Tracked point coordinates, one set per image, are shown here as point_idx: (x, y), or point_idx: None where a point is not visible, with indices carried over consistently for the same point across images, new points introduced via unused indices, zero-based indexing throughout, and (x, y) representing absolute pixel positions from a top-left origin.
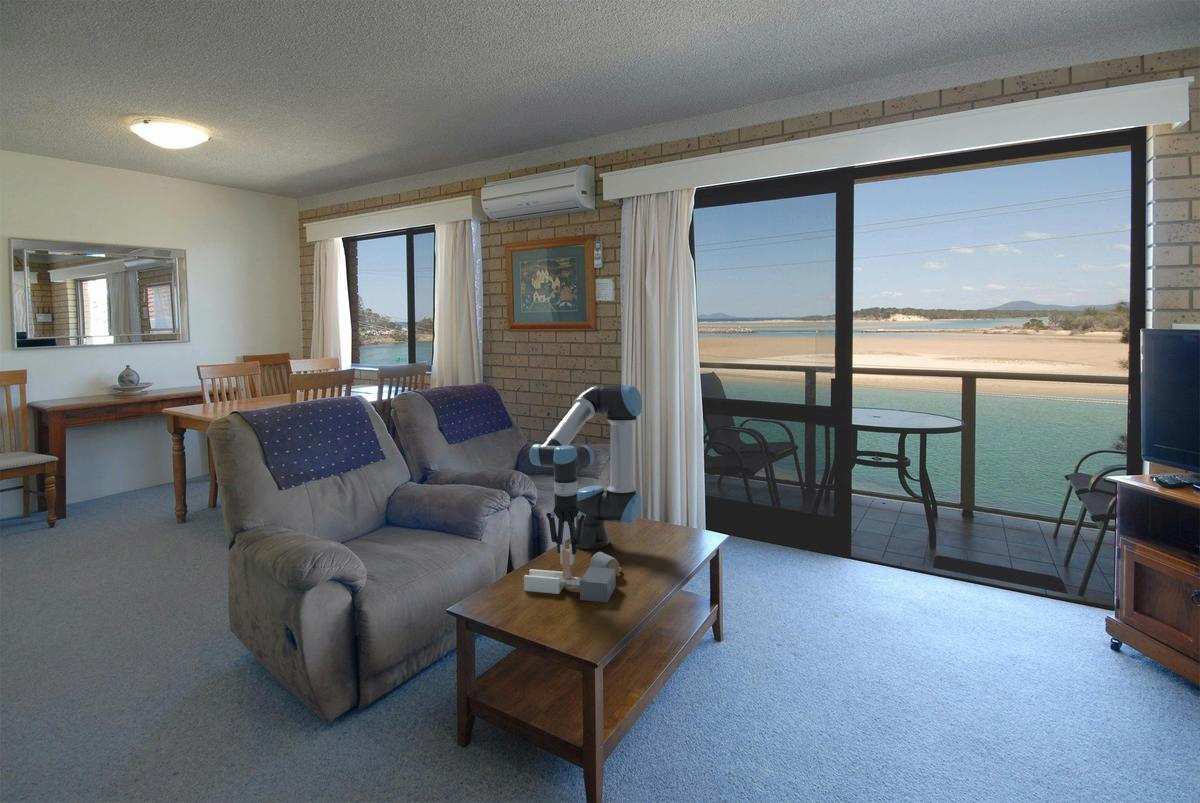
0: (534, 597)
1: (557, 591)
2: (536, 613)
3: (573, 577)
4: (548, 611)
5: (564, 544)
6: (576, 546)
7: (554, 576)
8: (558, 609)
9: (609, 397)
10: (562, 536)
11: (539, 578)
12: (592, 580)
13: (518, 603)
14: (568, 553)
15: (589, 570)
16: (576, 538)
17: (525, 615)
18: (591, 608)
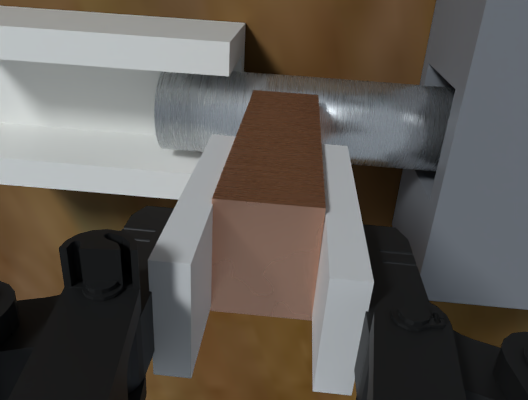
0: (110, 218)
1: None
2: (193, 371)
3: (337, 139)
4: (244, 351)
5: (197, 252)
6: (423, 296)
7: (171, 133)
8: (289, 331)
9: None
10: (122, 385)
11: (71, 186)
12: (520, 279)
13: (60, 290)
14: (301, 310)
15: (496, 71)
16: (459, 374)
17: (151, 388)
18: (467, 310)
